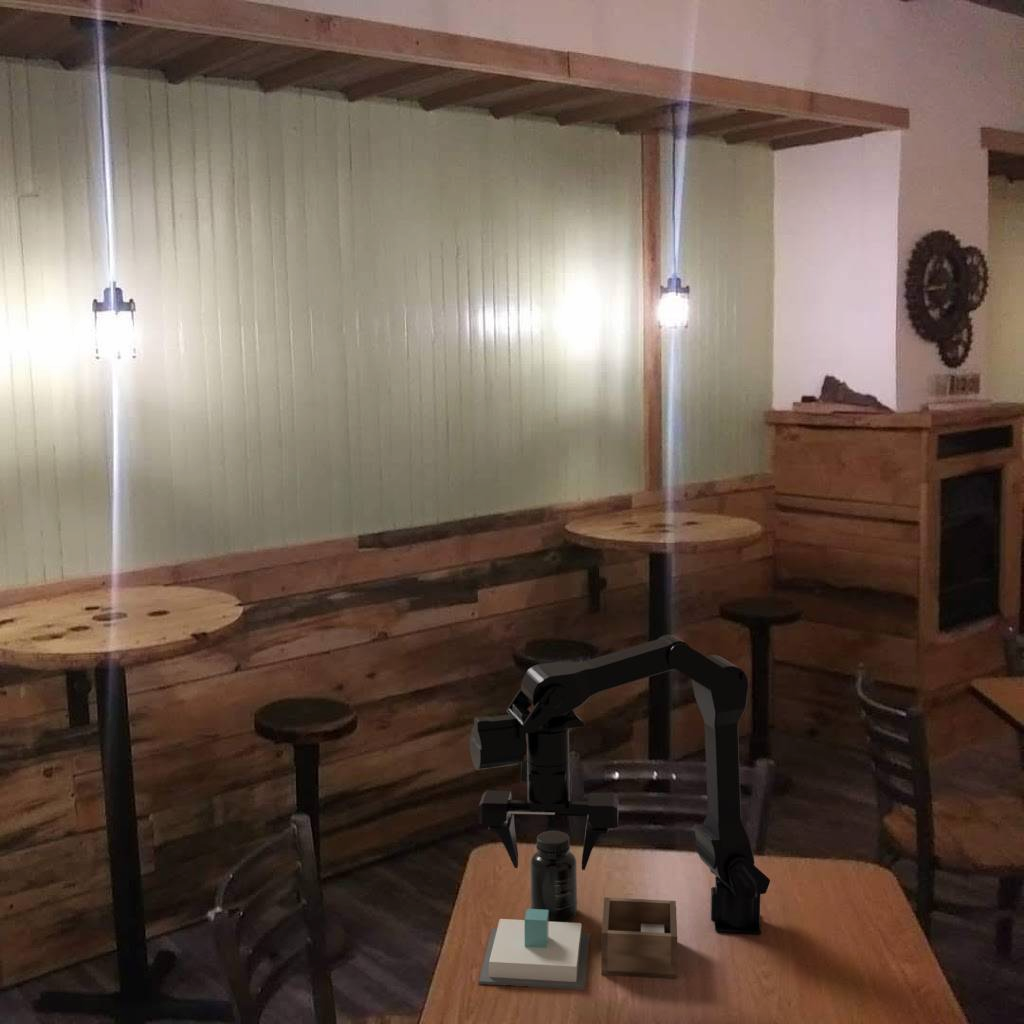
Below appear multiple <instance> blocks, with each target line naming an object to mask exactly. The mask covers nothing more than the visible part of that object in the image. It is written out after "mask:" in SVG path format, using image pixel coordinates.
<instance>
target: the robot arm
mask: <svg viewBox="0 0 1024 1024" xmlns="http://www.w3.org/2000/svg"><path fill="white" fill-rule="evenodd" d="M673 670H674V671H675V670H677V671H678V672H680V673H682V674H683V675H685V676H686V677H688V678H690V680H691V684H692V689H693V690H692V691H693V694H694V697H695V700H696V703H697V706H698V708H699V711H700V713H701V716H702V718H703V723H704V747H705V748H704V749H705V769H706V770H705V774H706V776H705V777H706V795H707V798H706V799H707V800H706V801H707V815H706V817H705V819H704V821H703V823H702V824H694V825H693V830H694V836H695V843H694V847H693V850H694V852H696V853H697V854H698V857H699V858H700V860H701V861H702V862H703V864H705V865H706V866H707V868H709V871H710V873H712V874H713V875H714V876H715V878H714V879H715V882H714V884H715V885H714V886H712V887H711V888H710V921H712V923H714V931H715V932H718V933H731V934H733V933H734V934H739V933H740V934H755V935H760V934H762V927H761V920H760V919H761V895H765V894H766V893H767V891H768V889H769V886H770V883H771V879H770V878H769V877H768V876H766V874H765V873H764V872H763V871H761V870H760V868H758V867H757V866H756V865H755V856H754V852H753V847H752V843H751V839H750V837H749V834H748V831H747V829H746V827H745V824H744V821H743V819H742V804H741V803H742V802H741V801H742V800H741V773H740V772H741V771H740V769H741V768H740V748H739V747H740V746H739V745H740V744H739V742H740V740H739V738H740V737H739V723H740V720H741V718H742V716H743V715H744V712H745V710H746V708H747V703H748V694H749V688H750V687H749V686H750V684H749V679H748V678H749V677H748V676H747V674H746V673H745V671H743V669H741V668H740V667H738V666H737V665H735V664H733V663H732V662H730V661H728V660H727V659H725V658H723V657H722V656H719V655H717V654H707V655H704V654H702V653H700V652H699V651H697V650H695V649H694V648H692V647H691V646H690V645H689V644H688V643H687V642H686V641H684V640H682V639H681V638H679V637H677V636H676V635H673V634H665V635H662V636H660V637H659V638H658V639H654V640H650V641H647V642H643V643H641V644H638V645H634V646H631V647H630V646H629V647H627V648H625V649H620V650H618V651H614V652H611V653H608V654H605V655H601V656H597V657H595V658H591V659H589V660H584V661H554V662H548V663H547V662H545V663H539V664H536V665H535V664H534V665H533V666H531V667H529V668H528V669H527V670H526V672H525V674H524V676H523V678H522V682H521V684H520V685H521V687H520V688H519V689H518V691H517V692H516V694H515V695H514V697H513V698H512V700H511V701H510V703H509V704H508V706H507V707H506V712H507V713H508V714H505V715H494V716H484V715H483V716H475V717H474V718H473V726H472V728H471V732H470V735H469V737H468V738H469V751H470V756H471V761H472V764H473V766H474V768H475V770H476V771H479V770H486V769H487V770H488V769H495V768H501V767H510V766H516V765H517V766H518V765H519V764H520V762H521V764H520V783H522V784H527V800H526V799H512V792H511V790H485V792H483V794H482V795H481V798H480V802H479V805H478V815H477V816H478V824H480V825H482V826H488V830H489V831H491V832H495V833H496V834H497V836H498V837H499V839H500V841H501V843H502V844H503V846H504V848H505V850H506V852H507V854H508V856H509V859H510V860H511V863H512V866H513V868H514V869H518V867H519V850H518V844H517V835H516V829H515V827H516V826H515V816H516V815H519V816H555V817H556V816H558V817H559V816H561V817H586V825H585V833H584V840H583V848H582V855H581V870H582V871H586V867H587V865H588V862H589V860H590V858H591V857H590V856H591V854H592V851H593V848H594V846H595V845H596V843H597V841H598V839H599V837H600V836H601V835H604V834H608V833H609V829H616V828H618V827H619V797H618V796H617V795H616V794H615V793H614V792H610V793H609V792H589V797H588V801H580V800H579V801H571V798H572V776H571V772H570V770H571V769H570V764H571V763H570V729H576V728H578V729H579V728H583V727H585V721H583V719H581V718H580V717H579V716H578V715H577V714H576V713H575V712H574V710H575V709H578V708H579V707H581V706H582V705H584V703H586V702H587V701H588V700H589V699H590V698H592V697H593V696H595V695H597V694H600V693H602V692H605V691H608V690H612V689H614V688H618V687H623V686H624V685H628V684H632V683H634V682H635V683H636V682H637V681H641V680H644V679H647V678H650V677H654V676H656V675H657V676H658V675H660V674H663V673H667V672H669V671H673ZM531 706H532V707H533V708H532V710H529V709H528V708H530V707H531ZM525 756H526V758H527V759H525Z"/></svg>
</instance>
